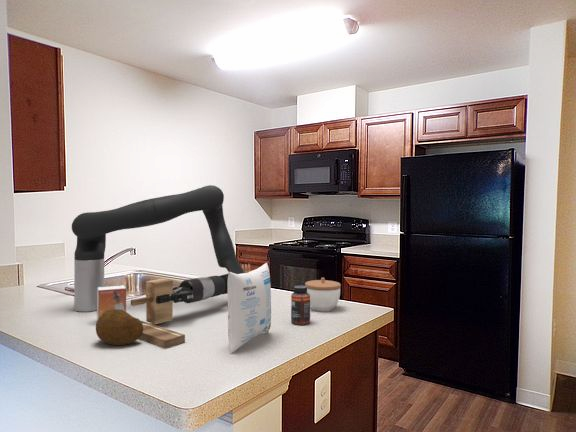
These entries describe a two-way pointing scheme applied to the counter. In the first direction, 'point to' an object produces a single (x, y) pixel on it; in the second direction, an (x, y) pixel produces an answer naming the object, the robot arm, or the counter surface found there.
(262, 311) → the pouch
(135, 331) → the potato
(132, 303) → the tan block
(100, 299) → the small box
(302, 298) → the supplement bottle
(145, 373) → the counter surface
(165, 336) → the walnut board
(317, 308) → the lidded bowl
